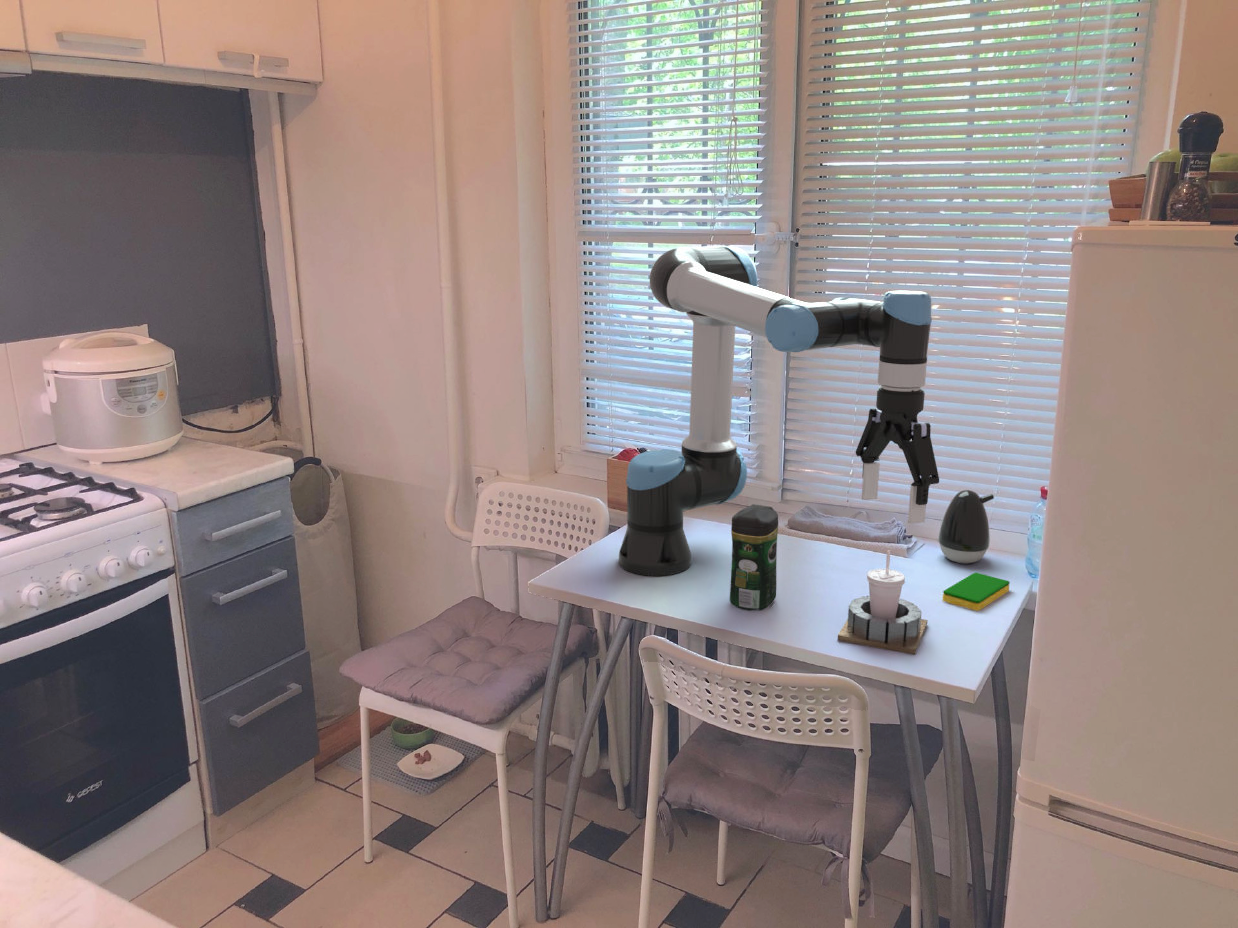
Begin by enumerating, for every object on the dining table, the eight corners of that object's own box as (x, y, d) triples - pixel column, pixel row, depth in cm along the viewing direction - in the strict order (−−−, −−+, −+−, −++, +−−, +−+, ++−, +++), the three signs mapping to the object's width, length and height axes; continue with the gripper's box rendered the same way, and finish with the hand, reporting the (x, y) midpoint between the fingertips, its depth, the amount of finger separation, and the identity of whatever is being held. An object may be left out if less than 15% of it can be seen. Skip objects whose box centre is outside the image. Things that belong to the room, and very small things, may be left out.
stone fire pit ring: (837, 640, 167) (838, 616, 165) (854, 612, 178) (855, 589, 177) (914, 654, 161) (917, 630, 160) (927, 625, 172) (929, 601, 171)
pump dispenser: (995, 568, 199) (1002, 497, 195) (944, 567, 200) (951, 497, 196) (979, 551, 209) (986, 483, 205) (931, 550, 209) (936, 483, 206)
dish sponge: (1009, 592, 188) (1010, 580, 187) (977, 613, 178) (978, 601, 178) (974, 582, 193) (975, 571, 192) (941, 602, 183) (942, 590, 183)
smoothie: (906, 624, 170) (912, 549, 167) (894, 637, 165) (900, 560, 162) (870, 616, 174) (875, 542, 170) (858, 628, 169) (863, 553, 165)
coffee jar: (741, 589, 189) (744, 499, 184) (780, 597, 185) (784, 504, 180) (723, 607, 180) (725, 513, 176) (763, 615, 177) (767, 519, 172)
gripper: (970, 399, 148) (957, 530, 154) (877, 373, 171) (869, 488, 176) (928, 402, 146) (917, 535, 151) (840, 375, 168) (833, 492, 174)
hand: (891, 510), depth 164 cm, fingers open, 13 cm apart
